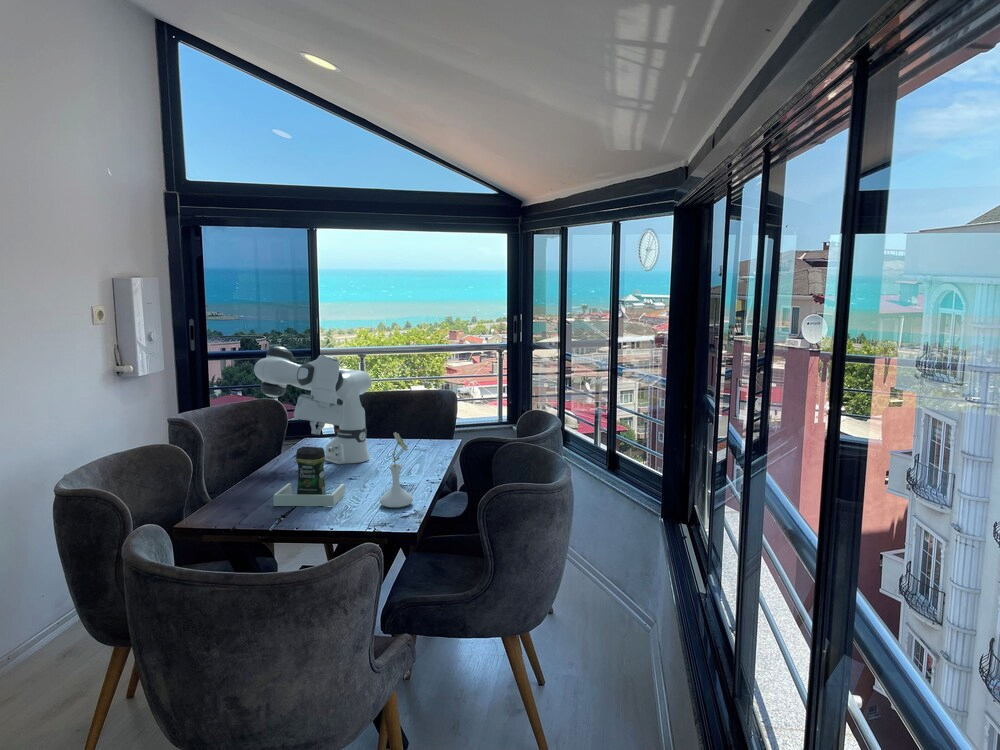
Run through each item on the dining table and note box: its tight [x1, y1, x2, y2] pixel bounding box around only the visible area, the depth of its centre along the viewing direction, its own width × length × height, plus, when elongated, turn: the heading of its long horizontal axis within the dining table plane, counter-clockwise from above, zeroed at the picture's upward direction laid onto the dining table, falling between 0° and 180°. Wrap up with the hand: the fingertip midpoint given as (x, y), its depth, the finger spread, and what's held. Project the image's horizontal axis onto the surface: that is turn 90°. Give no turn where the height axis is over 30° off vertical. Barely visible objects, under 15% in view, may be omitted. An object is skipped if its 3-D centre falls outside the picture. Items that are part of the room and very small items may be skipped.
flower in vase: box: [379, 431, 414, 509], centre depth 223 cm, size 13×11×25 cm
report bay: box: [272, 482, 346, 508], centre depth 229 cm, size 14×20×4 cm
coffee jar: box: [295, 446, 327, 495], centre depth 231 cm, size 10×8×19 cm
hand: (315, 434), depth 243 cm, fingers closed
